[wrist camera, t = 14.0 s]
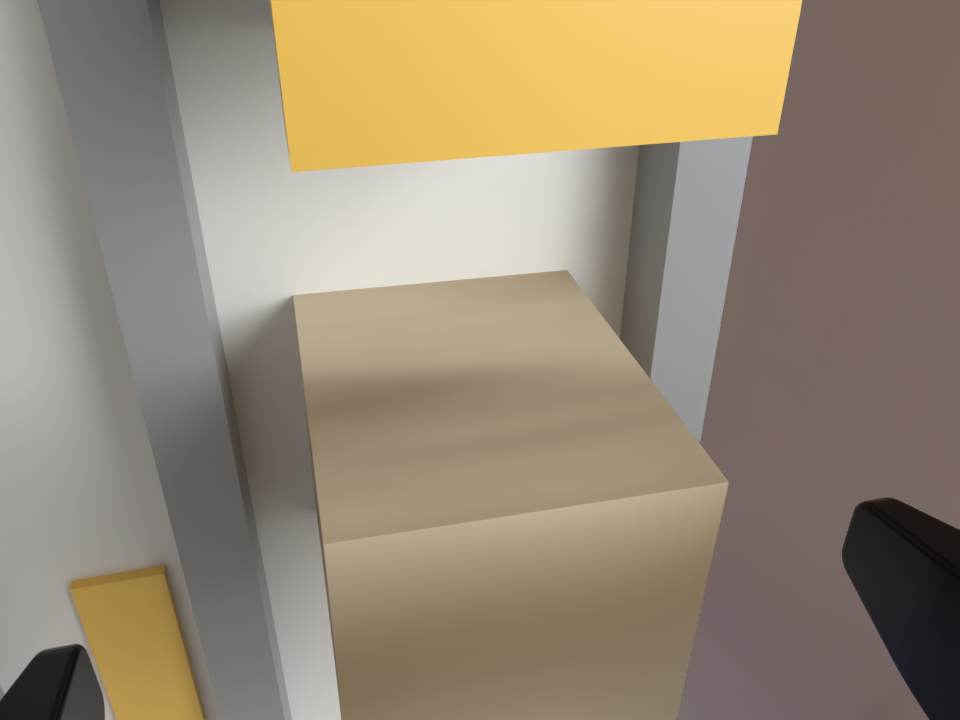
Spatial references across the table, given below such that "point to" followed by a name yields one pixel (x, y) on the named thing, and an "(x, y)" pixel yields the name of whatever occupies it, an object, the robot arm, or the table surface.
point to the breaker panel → (252, 333)
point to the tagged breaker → (523, 75)
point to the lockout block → (500, 505)
